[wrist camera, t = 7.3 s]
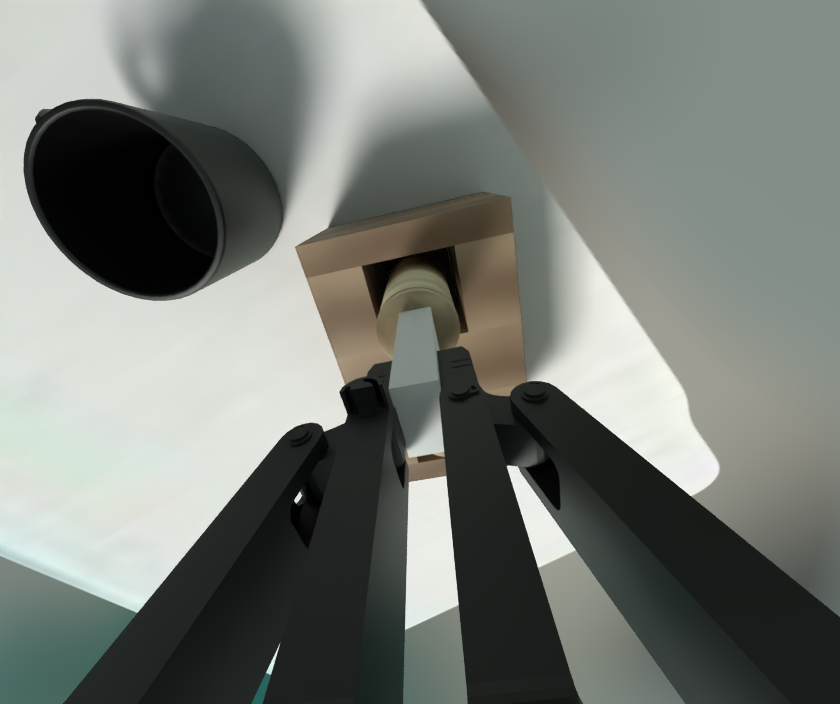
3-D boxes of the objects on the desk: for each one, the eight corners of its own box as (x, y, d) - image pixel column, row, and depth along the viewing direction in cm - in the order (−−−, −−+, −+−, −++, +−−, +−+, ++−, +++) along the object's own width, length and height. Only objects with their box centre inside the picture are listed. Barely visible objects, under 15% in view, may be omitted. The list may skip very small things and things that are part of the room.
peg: (381, 262, 23) (365, 300, 16) (440, 249, 23) (452, 281, 16) (395, 317, 25) (387, 374, 18) (451, 306, 24) (465, 359, 17)
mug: (145, 57, 22) (-16, -16, 14) (308, 194, 25) (258, 201, 17) (94, 183, 25) (-62, 185, 17) (245, 289, 28) (178, 333, 20)
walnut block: (327, 228, 26) (294, 246, 19) (483, 192, 25) (510, 197, 18) (389, 422, 35) (382, 486, 28) (508, 401, 34) (533, 461, 27)
